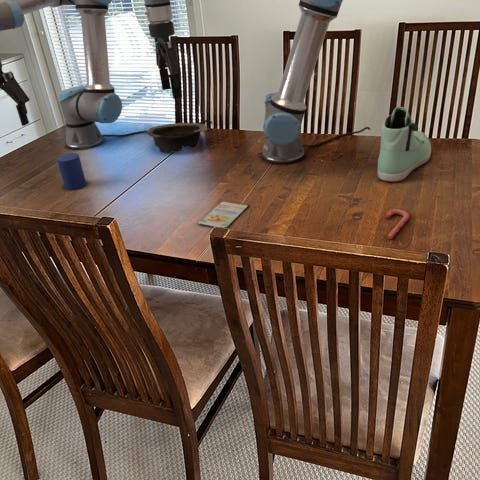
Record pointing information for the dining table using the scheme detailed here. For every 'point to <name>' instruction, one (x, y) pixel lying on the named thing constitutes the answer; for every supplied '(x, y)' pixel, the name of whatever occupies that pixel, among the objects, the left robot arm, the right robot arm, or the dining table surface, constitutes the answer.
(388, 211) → the candy cane
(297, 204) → the dining table surface
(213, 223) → the baking ingredient package
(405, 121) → the sneaker
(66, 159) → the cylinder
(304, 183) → the dining table surface
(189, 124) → the stone bowl
